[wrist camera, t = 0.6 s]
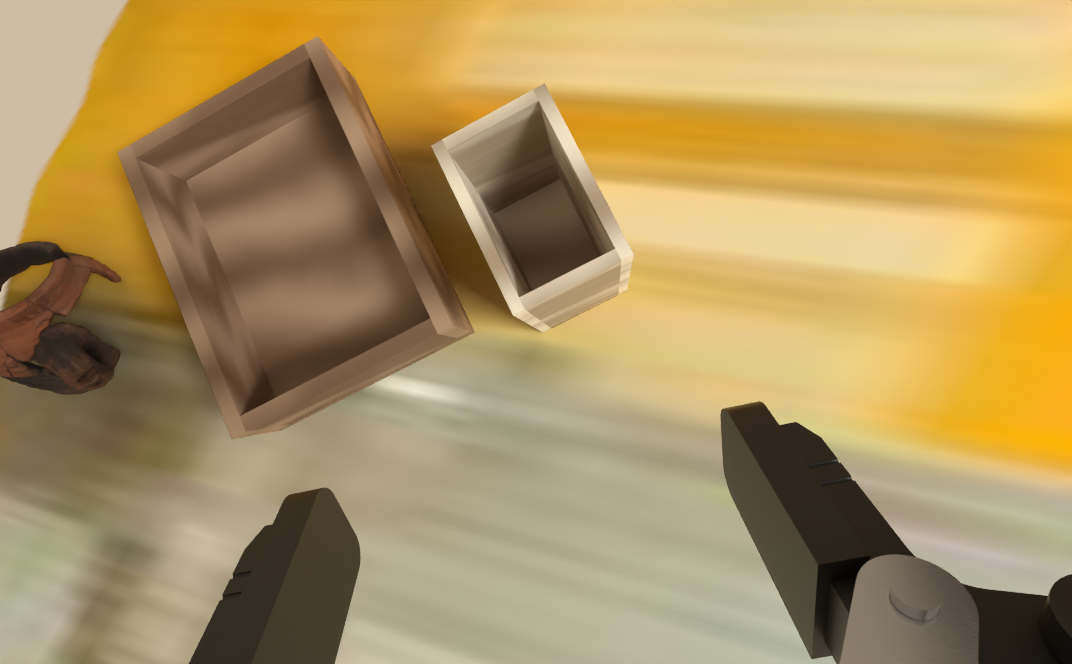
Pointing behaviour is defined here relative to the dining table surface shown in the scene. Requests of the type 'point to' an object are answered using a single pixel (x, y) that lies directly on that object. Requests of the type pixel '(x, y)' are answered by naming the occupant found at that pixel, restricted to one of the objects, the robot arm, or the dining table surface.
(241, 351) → the walnut crate
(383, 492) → the dining table surface
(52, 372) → the pottery mug
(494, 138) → the birch crate
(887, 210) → the dining table surface
